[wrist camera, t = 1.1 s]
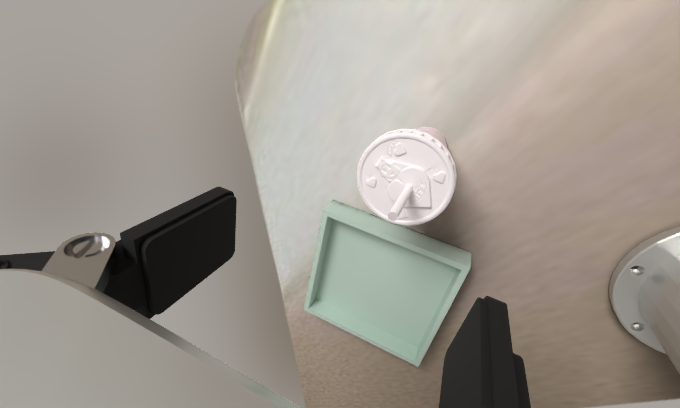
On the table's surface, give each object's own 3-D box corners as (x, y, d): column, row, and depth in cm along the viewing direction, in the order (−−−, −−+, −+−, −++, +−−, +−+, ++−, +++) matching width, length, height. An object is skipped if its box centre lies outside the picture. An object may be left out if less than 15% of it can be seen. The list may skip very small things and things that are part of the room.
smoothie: (427, 194, 29) (392, 281, 17) (376, 150, 29) (308, 207, 18) (480, 143, 26) (480, 210, 14) (422, 94, 26) (374, 120, 14)
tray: (471, 252, 30) (470, 267, 28) (421, 349, 37) (418, 367, 35) (333, 199, 34) (323, 209, 31) (312, 296, 41) (303, 309, 39)
